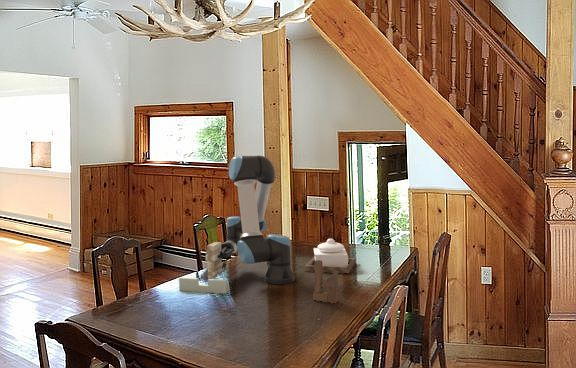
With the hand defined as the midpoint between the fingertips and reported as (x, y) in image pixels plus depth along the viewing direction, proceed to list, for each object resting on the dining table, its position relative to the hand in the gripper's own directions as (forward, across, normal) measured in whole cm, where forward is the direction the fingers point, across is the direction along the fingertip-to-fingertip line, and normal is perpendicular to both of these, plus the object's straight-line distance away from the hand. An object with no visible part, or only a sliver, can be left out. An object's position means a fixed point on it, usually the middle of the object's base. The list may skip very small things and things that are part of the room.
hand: (210, 257), depth 287 cm
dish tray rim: (-50, -50, -14) cm, 72 cm away
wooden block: (+13, -60, -15) cm, 63 cm away
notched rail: (+10, 0, -14) cm, 17 cm away
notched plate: (-5, 0, -10) cm, 11 cm away
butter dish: (-50, -50, -14) cm, 72 cm away
